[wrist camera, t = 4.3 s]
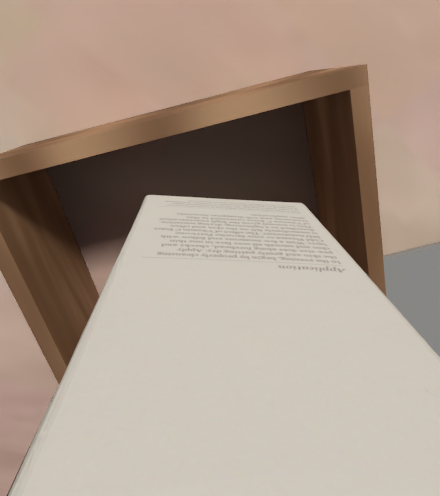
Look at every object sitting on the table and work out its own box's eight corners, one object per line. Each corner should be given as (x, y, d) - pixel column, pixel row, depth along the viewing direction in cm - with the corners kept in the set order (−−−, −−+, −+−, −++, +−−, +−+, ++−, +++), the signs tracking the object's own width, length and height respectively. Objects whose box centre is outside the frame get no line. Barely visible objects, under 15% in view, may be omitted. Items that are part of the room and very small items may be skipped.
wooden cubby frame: (311, 70, 24) (366, 64, 16) (338, 273, 29) (389, 337, 22) (22, 145, 24) (-50, 172, 17) (102, 332, 30) (74, 414, 22)
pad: (478, 232, 29) (483, 234, 28) (476, 352, 33) (480, 356, 33) (344, 265, 29) (346, 268, 29) (359, 380, 33) (361, 385, 33)
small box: (281, 365, 19) (429, 878, 7) (145, 361, 18) (37, 905, 6) (307, 197, 16) (676, 593, 4) (143, 188, 15) (-76, 603, 3)
